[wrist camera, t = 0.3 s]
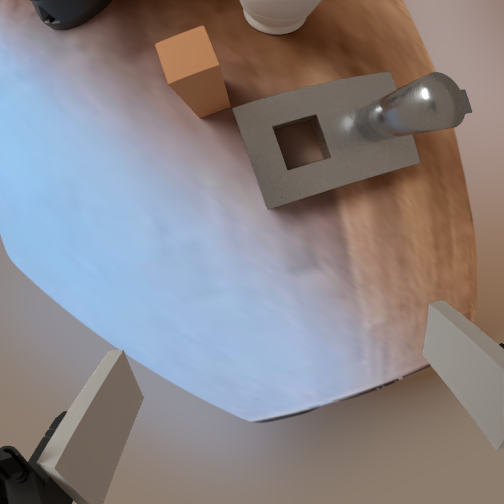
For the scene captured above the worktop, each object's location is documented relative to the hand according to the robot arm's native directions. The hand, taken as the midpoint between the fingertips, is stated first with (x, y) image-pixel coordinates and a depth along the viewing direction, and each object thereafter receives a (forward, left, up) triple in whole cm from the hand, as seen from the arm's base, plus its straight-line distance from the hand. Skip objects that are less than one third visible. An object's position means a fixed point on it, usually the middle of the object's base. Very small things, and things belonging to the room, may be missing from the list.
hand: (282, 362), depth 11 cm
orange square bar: (-18, 0, -27) cm, 32 cm away
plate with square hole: (-9, +13, -27) cm, 31 cm away
